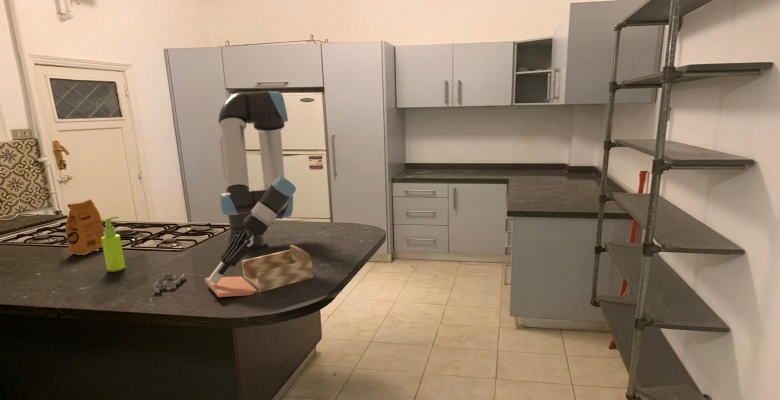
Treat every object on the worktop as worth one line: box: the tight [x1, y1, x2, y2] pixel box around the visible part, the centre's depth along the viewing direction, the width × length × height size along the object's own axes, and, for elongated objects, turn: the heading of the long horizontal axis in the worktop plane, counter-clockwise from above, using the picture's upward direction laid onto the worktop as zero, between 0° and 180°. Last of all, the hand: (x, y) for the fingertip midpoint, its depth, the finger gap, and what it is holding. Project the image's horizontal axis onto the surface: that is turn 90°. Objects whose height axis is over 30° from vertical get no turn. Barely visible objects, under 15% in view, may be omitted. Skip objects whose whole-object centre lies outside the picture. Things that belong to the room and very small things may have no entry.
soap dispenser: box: [101, 216, 126, 271], centre depth 166 cm, size 6×7×20 cm
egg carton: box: [151, 271, 185, 292], centre depth 148 cm, size 11×8×4 cm
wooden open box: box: [241, 244, 314, 293], centre depth 150 cm, size 18×16×9 cm
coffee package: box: [65, 198, 105, 253], centre depth 190 cm, size 10×12×22 cm
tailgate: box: [204, 275, 258, 298], centre depth 141 cm, size 1×16×12 cm
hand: (212, 281), depth 138 cm, fingers closed
